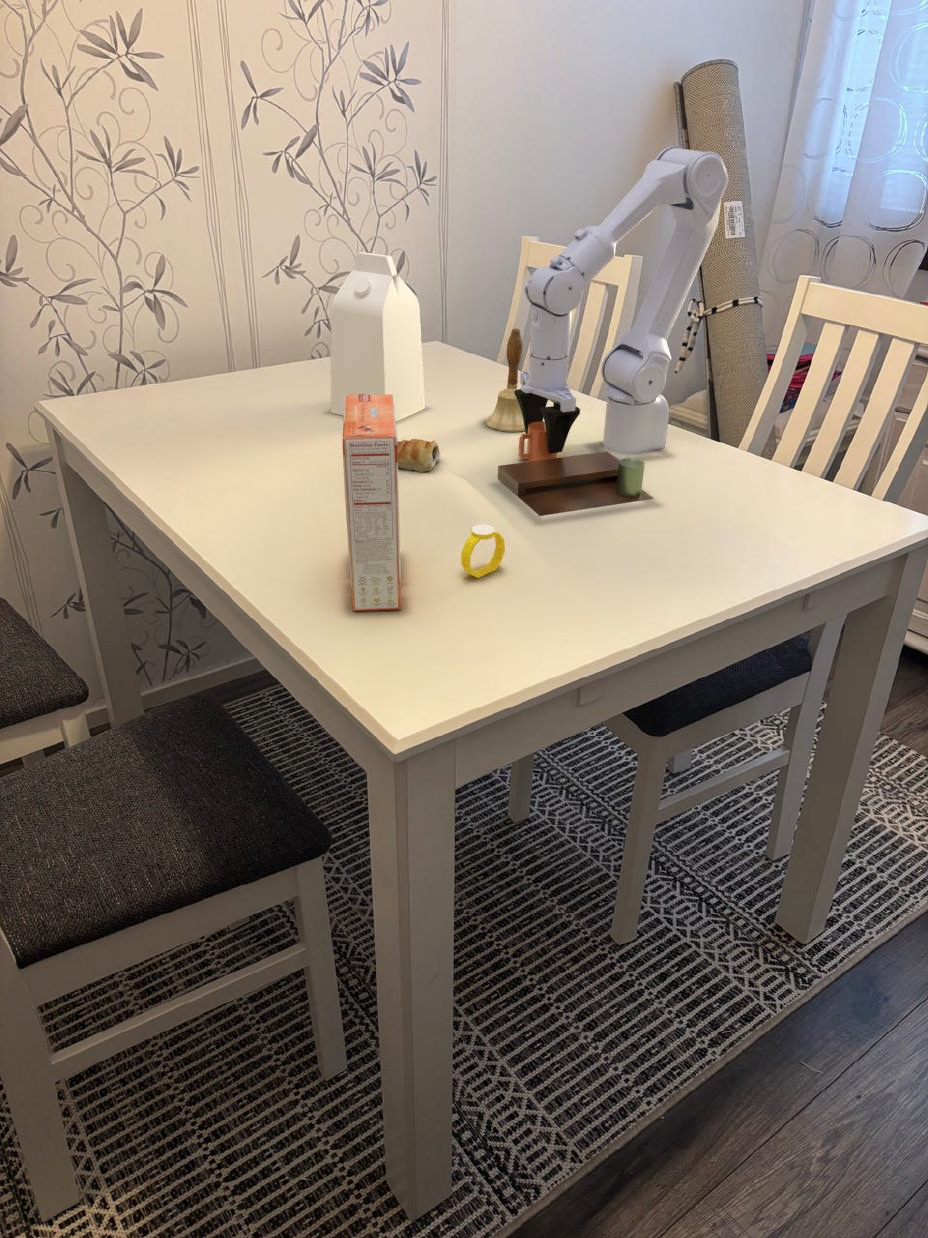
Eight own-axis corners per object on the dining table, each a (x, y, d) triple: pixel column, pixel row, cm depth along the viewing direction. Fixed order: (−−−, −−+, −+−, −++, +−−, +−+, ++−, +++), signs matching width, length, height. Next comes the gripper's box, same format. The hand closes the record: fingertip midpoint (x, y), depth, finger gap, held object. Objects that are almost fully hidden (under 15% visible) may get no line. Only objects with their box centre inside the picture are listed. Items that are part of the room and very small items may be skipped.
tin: (632, 486, 140) (636, 456, 138) (646, 495, 137) (649, 465, 135) (611, 489, 139) (614, 459, 137) (623, 498, 136) (627, 468, 134)
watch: (492, 562, 120) (494, 518, 117) (508, 570, 119) (510, 525, 116) (456, 576, 117) (457, 531, 114) (471, 585, 115) (473, 539, 112)
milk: (425, 408, 172) (425, 253, 159) (386, 425, 163) (382, 264, 150) (370, 396, 177) (366, 245, 164) (330, 412, 169) (322, 255, 156)
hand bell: (536, 418, 168) (542, 324, 160) (531, 434, 161) (537, 337, 153) (489, 414, 170) (492, 321, 162) (482, 430, 163) (485, 333, 155)
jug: (552, 456, 153) (554, 419, 150) (566, 466, 149) (569, 429, 146) (511, 461, 150) (513, 424, 147) (524, 472, 146) (526, 434, 143)
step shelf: (605, 469, 148) (606, 451, 147) (653, 504, 137) (656, 484, 135) (497, 484, 142) (497, 465, 141) (539, 522, 131) (540, 502, 129)
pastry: (371, 467, 147) (371, 443, 145) (384, 452, 153) (384, 429, 151) (432, 473, 145) (432, 449, 143) (442, 458, 151) (442, 434, 149)
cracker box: (350, 557, 121) (343, 392, 110) (399, 556, 121) (396, 391, 111) (348, 613, 109) (340, 434, 98) (402, 612, 109) (399, 433, 99)
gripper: (503, 344, 146) (500, 431, 153) (546, 370, 134) (541, 463, 141) (545, 340, 148) (540, 426, 155) (591, 365, 137) (584, 457, 143)
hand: (543, 443), depth 148 cm, fingers open, 7 cm apart
